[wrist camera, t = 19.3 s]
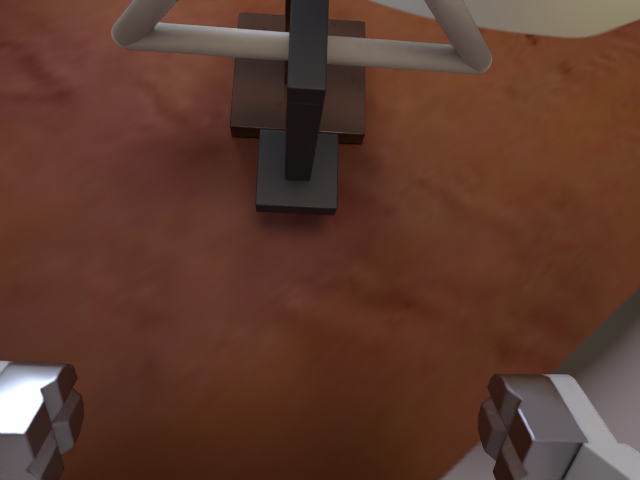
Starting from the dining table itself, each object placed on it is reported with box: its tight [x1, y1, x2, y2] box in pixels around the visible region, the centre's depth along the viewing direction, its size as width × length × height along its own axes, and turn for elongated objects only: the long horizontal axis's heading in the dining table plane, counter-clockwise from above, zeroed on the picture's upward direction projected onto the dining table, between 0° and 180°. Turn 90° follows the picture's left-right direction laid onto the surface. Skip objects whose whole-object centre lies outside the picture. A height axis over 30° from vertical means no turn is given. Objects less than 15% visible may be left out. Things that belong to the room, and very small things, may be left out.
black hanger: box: [255, 0, 338, 215], centre depth 26 cm, size 7×5×12 cm
